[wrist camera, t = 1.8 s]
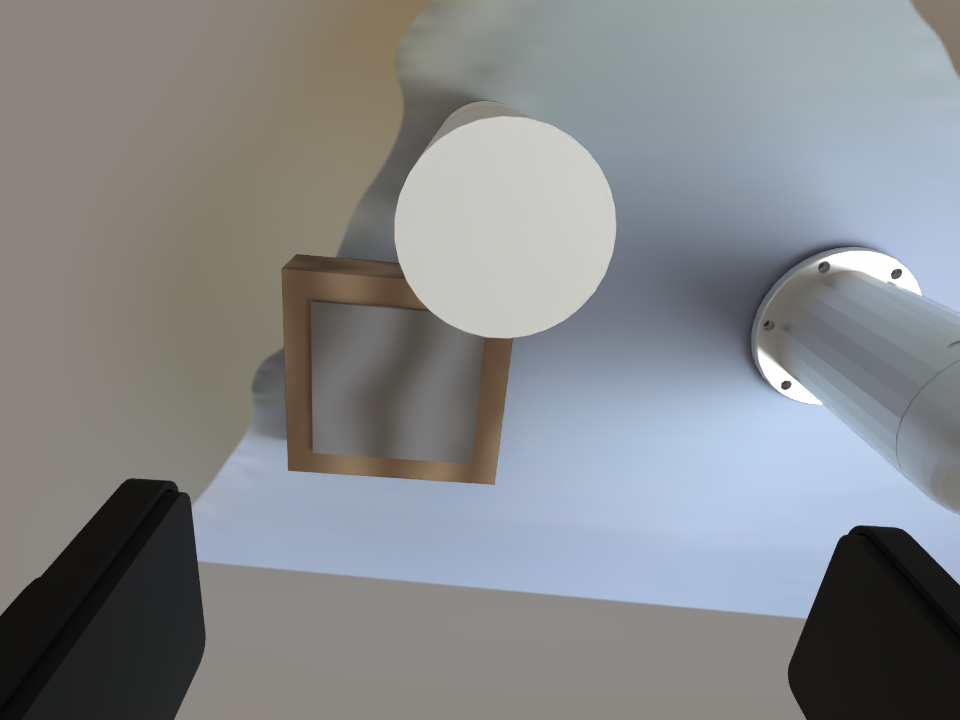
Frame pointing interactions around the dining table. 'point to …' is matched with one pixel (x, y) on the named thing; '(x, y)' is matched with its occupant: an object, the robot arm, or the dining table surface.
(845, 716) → the robot arm
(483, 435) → the walnut base
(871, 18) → the dining table surface
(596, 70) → the dining table surface
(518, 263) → the cylindrical container
